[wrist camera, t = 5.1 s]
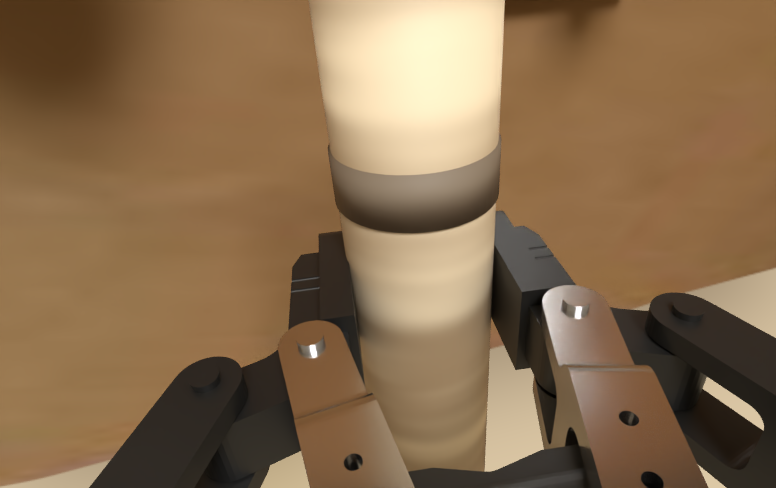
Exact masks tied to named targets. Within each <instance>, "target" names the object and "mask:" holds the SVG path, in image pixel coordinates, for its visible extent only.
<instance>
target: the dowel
mask: <svg viewBox="0 0 776 488" xmlns="http://www.w3.org/2000/svg"><path fill="white" fill-rule="evenodd" d="M309 7H310V14H311V21H312V28H313V35H314V41H315V48H316V55H317V62H318V69H319V76H320V83H321V89H322V96H323V103H324V110H325V117H326V124H327V130H328V137H329V145H328V154H329V161H330V168H331V174H332V181H333V188H334V194H335V201H336V205H337V208H338V209H339V213H340V219H341V226H342V233H343V240H344V247H345V254H346V258H347V260H348V262H349V266H350V273H351V280H352V287H353V294H354V301H355V308H356V315H357V322H358V329H359V336H360V345H361V354H362V363H363V372H364V381H365V388H366V390H367V393H368V394H370V393H373V394H374V396H375V397H376V399H377V401H378V404H379V406H380V408H381V411H382V413H383V415H384V418H385V420H386V422H387V425H388V427H389V429H390V432H391V434H392V436H393V438H394V441H395V443H396V445H397V448H398V450H399V452H400V455H401V457H402V459H403V462H404V464H405V466H406V469H407V471H408V472H409V471H415V470H421V469H427V468H444V469H457V470H470V471H483V472H484V468H485V445H486V421H487V398H488V375H489V352H490V330H491V307H492V284H493V261H494V238H495V215H496V201H497V199H498V195H499V178H500V157H501V135H500V133H499V123H500V99H501V76H502V53H503V30H504V7H505V0H309Z"/></svg>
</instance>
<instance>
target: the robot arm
mask: <svg viewBox="0 0 776 488" xmlns="http://www.w3.org/2000/svg"><path fill="white" fill-rule="evenodd" d="M491 317H492V320H493V322H494V324H495V326H496V328H497V330H498V333H499V335H500V337H501V339H502V341H503V343H504V346H505V348H506V350H507V352H508V354H509V357H510V359H511V361H512V363H513V365H514V367H515V370H518V369H525V368H531V369H532V372H533V374H534V381H533V393H534V399H535V404H536V409H537V415H538V419H539V425H540V430H541V435H542V441H543V446H544V450H541V451H538V452H536V453H534V454H532V455H529V456H527V457H525V458H523V459H520V460H518V461H516V462H514V463H512V464H509V465H507V466H505V467H503V468H500V469H498V470H495V471H492V472H483V471H470V470H457V469H444V468H427V469H421V470H415V471H409V472H408V471H407V469H406V466H405V464H404V462H403V459H402V457H401V455H400V452H399V450H398V448H397V445H396V443H395V441H394V438H393V436H392V434H391V432H390V429H389V427H388V425H387V422H386V420H385V418H384V415H383V413H382V411H381V408H380V406H379V404H378V401H377V399H376V397H375V396H374V394H373V393H370V394H368V393H367V390H366V388H365V381H364V372H363V363H362V354H361V345H360V336H359V329H358V322H357V315H356V308H355V301H354V294H353V287H352V280H351V273H350V266H349V262H348V260H347V258H346V254H345V247H344V240H343V233H342V231H338V232H330V233H322V234H319V253H311V254H304V255H301V256H300V257H299V259H298V260H297V262H296V263H295V264H294V266H293V268H292V283H291V299H290V315H289V330H288V331H287V332H286V333H285V334H284V335H283V336H282V338H281V339H280V341H279V344H278V350H277V351H276V352H274V353H273V354H272V355H270V356H268V357H267V358H265V359H262V360H260V361H258V362H255V363H253V364H250V365H248V366H245V367H242V368H241V367H240V365H239V364H238V363H237V362H236V361H234V360H233V359H230V358H227V357H210V358H206V359H202V360H200V361H197V362H195V363H193V364H191V365H189V366H188V367H187V368H185V369H184V370H183V371H182V372H180V373H179V374H178V376H177V377H176V378H175V379H174V380H173V382H172V383H171V384H170V385H169V387H168V388H167V389H166V391H165V392H164V393H163V394H162V396H161V397H160V398H159V399H158V401H157V402H156V403H155V405H154V406H153V407H152V408H151V410H150V411H149V412H148V413H147V415H146V416H145V417H144V419H143V420H142V421H141V422H140V424H139V425H138V426H137V427H136V429H135V430H134V431H133V433H132V434H131V435H130V436H129V438H128V439H127V440H126V441H125V443H124V444H123V445H122V447H121V448H120V449H119V450H118V452H117V453H116V454H115V456H114V457H113V458H112V459H111V461H110V462H109V463H108V465H107V466H106V467H105V468H104V470H103V471H102V472H101V474H100V475H99V476H98V477H97V479H96V480H95V481H94V482H93V484H92V485H91V486H90V487H89V488H260V487H261V485H262V483H263V481H264V479H265V477H266V475H267V473H268V470H269V467H270V465H271V464H274V463H276V462H278V461H280V460H282V459H284V458H286V457H289V456H290V455H293V454H295V453H297V452H299V451H302V456H303V460H304V464H305V469H306V473H307V477H308V481H309V485H310V488H708V486H707V483H706V481H705V479H704V477H703V475H702V473H701V471H700V469H699V466H701V467H702V468H703V469H704V470H706V471H707V472H708V473H709V474H711V475H712V476H713V477H714V478H715V479H717V480H718V481H719V482H720V483H722V484H723V485H724V486H725V487H727V488H776V338H774V337H773V336H771V335H769V334H767V333H765V332H763V331H762V330H760V329H758V328H756V327H754V326H752V325H750V324H749V323H747V322H745V321H743V320H741V319H740V318H738V317H736V316H734V315H732V314H730V313H729V312H727V311H725V310H723V309H721V308H719V307H717V306H716V305H714V304H712V303H710V302H708V301H706V300H704V299H702V298H699V297H697V296H694V295H689V294H685V293H665V294H661V295H659V296H657V297H655V298H654V299H653V300H652V301H651V304H650V308H649V311H640V310H627V309H617V308H612V307H609V304H608V303H607V301H606V300H605V299H604V297H602V296H601V295H600V294H598V293H597V292H595V291H593V290H591V289H588V288H585V287H581V286H576V284H575V283H574V282H573V280H572V279H571V278H570V276H569V275H568V274H567V272H566V271H565V270H564V268H563V267H562V266H561V264H560V263H559V261H558V260H557V259H556V257H554V255H553V253H552V252H551V251H550V249H549V248H547V245H546V244H545V243H544V241H543V240H542V239H541V237H540V236H539V235H538V234H537V233H535V232H533V231H532V230H530V229H528V228H527V227H525V226H518V227H514V226H513V225H512V223H511V222H510V220H509V219H508V217H507V216H506V214H505V213H504V212H503V211H496V215H495V238H494V261H493V284H492V307H491ZM706 377H709V378H710V379H712V380H713V381H715V382H716V383H718V384H719V385H721V386H722V387H724V388H725V389H727V390H728V391H730V392H731V393H733V394H734V395H736V396H737V397H739V398H740V399H742V400H743V401H745V402H746V403H748V404H749V405H751V406H752V407H753V408H754V409H755V410H756V411H757V412H758V413H759V415H760V416H761V418H762V420H763V423H764V431H763V430H761V429H760V428H758V427H757V426H755V425H754V424H752V423H751V422H750V421H748V420H747V419H745V418H744V417H742V416H741V415H739V414H738V413H737V412H735V411H734V410H732V409H731V408H729V407H728V406H726V405H725V404H723V403H722V402H720V401H719V400H718V399H716V398H715V397H713V396H712V395H710V394H709V393H708V392H706V391H704V390H703V389H702V388H703V385H704V383H705V380H706ZM698 465H699V466H698Z"/></svg>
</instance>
